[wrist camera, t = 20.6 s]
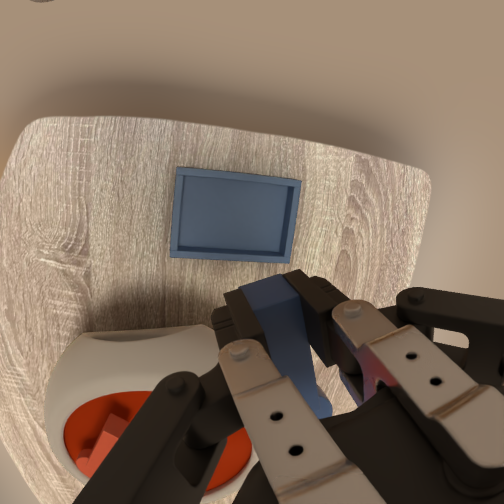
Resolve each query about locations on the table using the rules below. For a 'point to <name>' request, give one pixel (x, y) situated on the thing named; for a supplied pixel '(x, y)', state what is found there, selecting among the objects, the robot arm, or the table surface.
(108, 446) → the red spoon
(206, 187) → the blue tray
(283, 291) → the blue spoon
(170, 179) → the table surface
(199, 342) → the pot
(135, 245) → the table surface
